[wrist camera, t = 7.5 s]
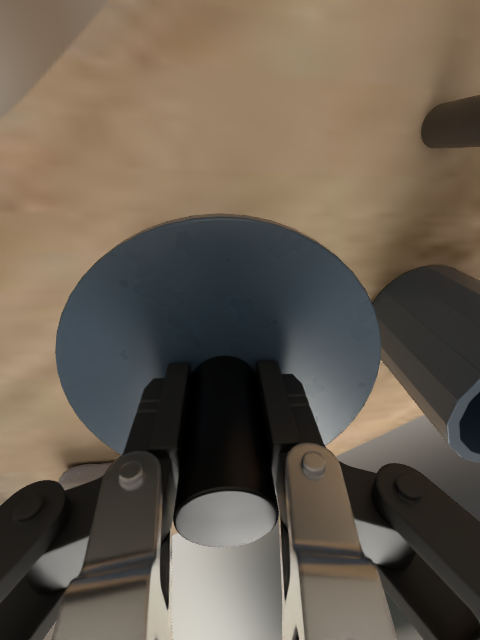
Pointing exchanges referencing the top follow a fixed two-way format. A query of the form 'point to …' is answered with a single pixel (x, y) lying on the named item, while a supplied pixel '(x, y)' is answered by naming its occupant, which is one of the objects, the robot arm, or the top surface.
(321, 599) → the robot arm
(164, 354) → the pot lid
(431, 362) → the dark blue cylindrical container
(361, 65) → the top surface
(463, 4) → the top surface
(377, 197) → the top surface
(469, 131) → the marker
